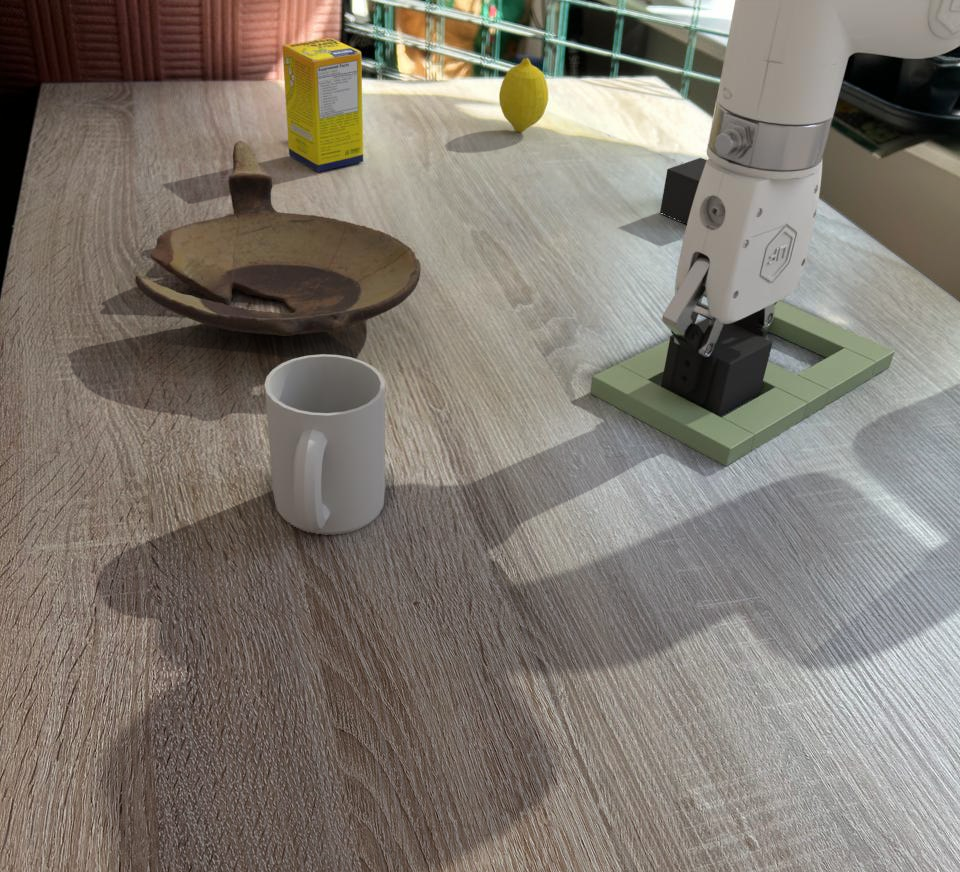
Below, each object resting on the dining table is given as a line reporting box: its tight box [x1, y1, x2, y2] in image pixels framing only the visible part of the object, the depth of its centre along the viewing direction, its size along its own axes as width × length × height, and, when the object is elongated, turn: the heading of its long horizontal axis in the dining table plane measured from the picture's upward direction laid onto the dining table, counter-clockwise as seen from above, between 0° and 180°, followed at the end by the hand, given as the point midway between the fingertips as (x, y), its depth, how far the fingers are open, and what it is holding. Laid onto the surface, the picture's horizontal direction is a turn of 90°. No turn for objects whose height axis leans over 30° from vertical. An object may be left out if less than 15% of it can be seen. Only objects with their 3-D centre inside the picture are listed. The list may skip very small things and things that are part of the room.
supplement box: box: [281, 37, 364, 173], centre depth 114 cm, size 6×6×11 cm
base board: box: [589, 300, 896, 467], centre depth 88 cm, size 23×13×2 cm, turn 135°
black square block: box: [659, 157, 708, 224], centre depth 111 cm, size 6×6×4 cm
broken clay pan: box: [134, 140, 421, 337], centre depth 91 cm, size 22×30×8 cm
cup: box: [264, 353, 386, 536], centre depth 68 cm, size 7×10×9 cm
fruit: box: [498, 56, 549, 133], centre depth 125 cm, size 6×6×8 cm
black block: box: [661, 318, 774, 418], centre depth 83 cm, size 6×6×4 cm
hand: (713, 380), depth 84 cm, fingers closed on black block, 5 cm apart
